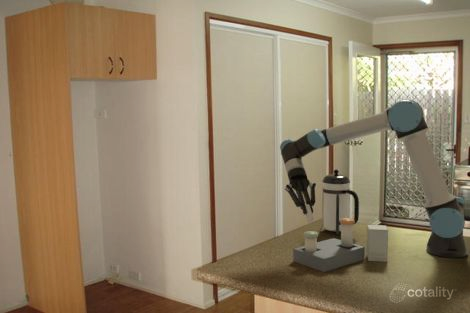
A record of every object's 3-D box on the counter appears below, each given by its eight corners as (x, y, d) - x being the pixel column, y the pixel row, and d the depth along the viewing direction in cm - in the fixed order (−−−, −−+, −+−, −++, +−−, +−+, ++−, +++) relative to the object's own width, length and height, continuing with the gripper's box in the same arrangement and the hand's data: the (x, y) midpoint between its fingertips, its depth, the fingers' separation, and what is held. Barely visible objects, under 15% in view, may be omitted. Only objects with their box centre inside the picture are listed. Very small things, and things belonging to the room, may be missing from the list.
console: (364, 259, 186) (364, 246, 186) (324, 272, 173) (324, 258, 172) (333, 249, 199) (333, 238, 199) (293, 261, 185) (293, 248, 185)
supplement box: (387, 262, 183) (388, 229, 181) (367, 261, 184) (368, 229, 183) (385, 256, 190) (386, 225, 189) (366, 255, 191) (366, 224, 190)
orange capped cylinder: (357, 245, 186) (357, 219, 185) (347, 248, 183) (348, 222, 182) (346, 242, 191) (346, 217, 190) (336, 244, 188) (336, 219, 187)
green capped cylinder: (321, 259, 183) (321, 233, 182) (310, 262, 180) (310, 235, 179) (310, 255, 188) (310, 230, 187) (300, 258, 184) (300, 232, 183)
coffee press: (320, 235, 221) (320, 171, 217) (319, 227, 236) (320, 167, 233) (358, 236, 218) (359, 172, 215) (355, 228, 233) (356, 167, 230)
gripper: (308, 176, 201) (324, 224, 187) (279, 178, 199) (292, 226, 184) (313, 165, 196) (329, 214, 181) (282, 167, 193) (297, 216, 178)
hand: (310, 220), depth 183 cm, fingers closed
